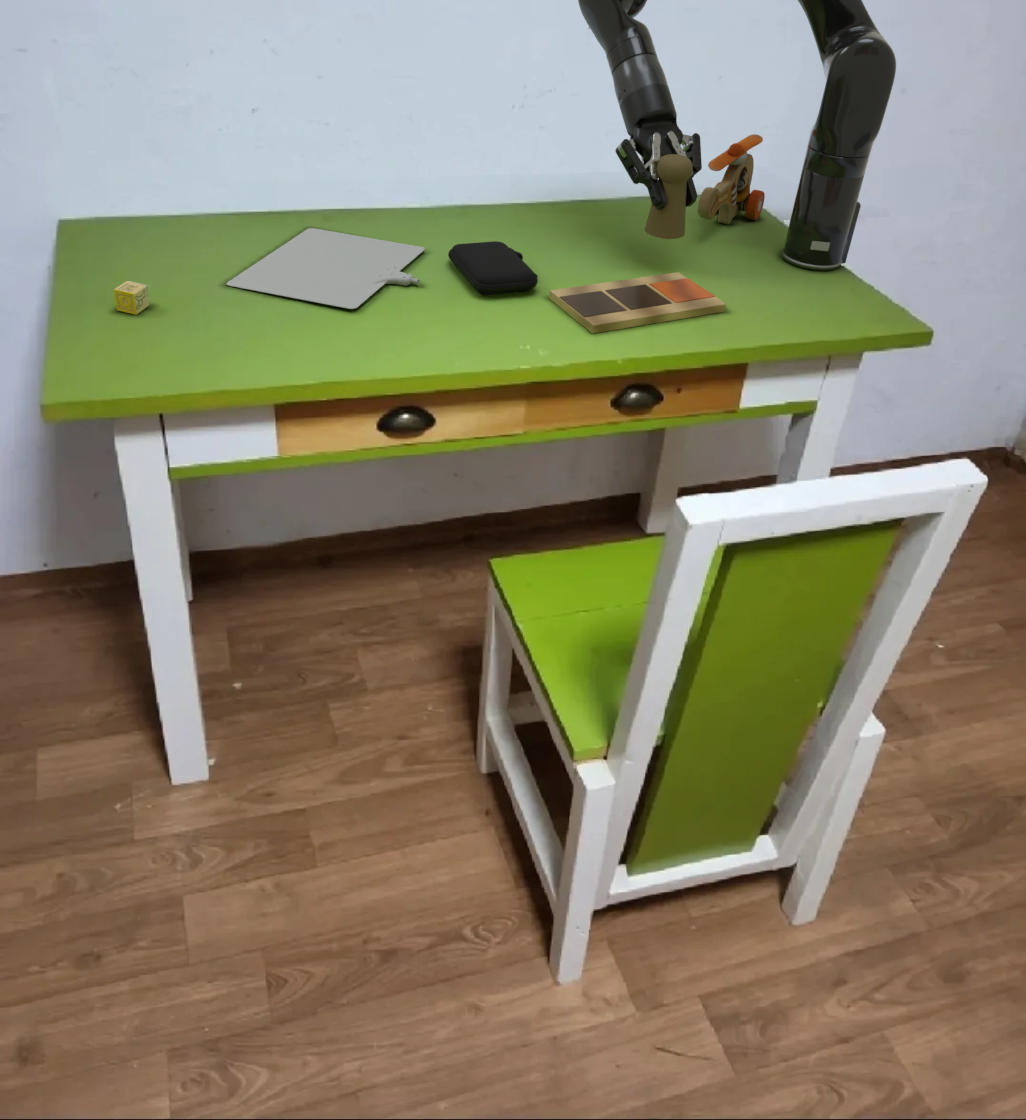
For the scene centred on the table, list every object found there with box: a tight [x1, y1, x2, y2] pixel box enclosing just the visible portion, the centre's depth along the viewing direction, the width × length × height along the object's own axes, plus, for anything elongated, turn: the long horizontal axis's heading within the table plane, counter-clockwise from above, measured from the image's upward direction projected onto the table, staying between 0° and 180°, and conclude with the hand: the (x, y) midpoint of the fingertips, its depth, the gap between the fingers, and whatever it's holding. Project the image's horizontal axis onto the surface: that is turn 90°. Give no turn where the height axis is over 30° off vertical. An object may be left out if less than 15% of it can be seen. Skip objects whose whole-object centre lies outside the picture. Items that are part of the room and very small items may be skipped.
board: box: [548, 271, 727, 334], centre depth 149 cm, size 22×12×1 cm, turn 117°
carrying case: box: [447, 240, 539, 297], centre depth 153 cm, size 11×3×15 cm
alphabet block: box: [113, 280, 150, 316], centre depth 136 cm, size 3×3×3 cm
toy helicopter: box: [697, 134, 766, 225], centre depth 175 cm, size 8×21×14 cm, turn 150°
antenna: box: [226, 227, 426, 310], centre depth 152 cm, size 25×24×1 cm
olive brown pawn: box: [644, 154, 693, 240], centre depth 155 cm, size 6×6×11 cm
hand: (676, 205), depth 155 cm, fingers closed on olive brown pawn, 4 cm apart
